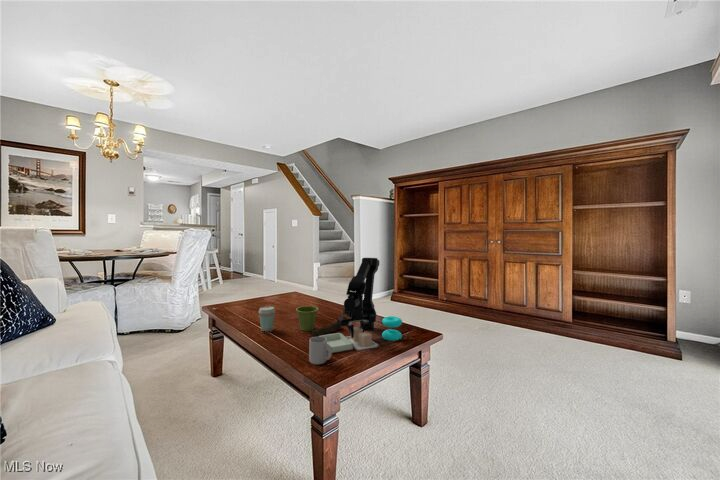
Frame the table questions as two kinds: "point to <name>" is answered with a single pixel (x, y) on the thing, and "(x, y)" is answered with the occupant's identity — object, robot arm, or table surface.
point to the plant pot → (307, 317)
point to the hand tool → (326, 330)
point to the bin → (338, 342)
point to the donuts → (391, 333)
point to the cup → (319, 350)
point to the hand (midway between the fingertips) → (356, 337)
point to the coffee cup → (266, 318)
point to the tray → (357, 347)
